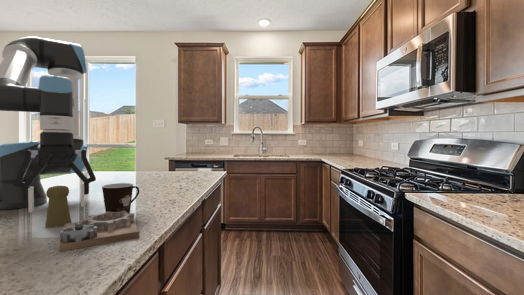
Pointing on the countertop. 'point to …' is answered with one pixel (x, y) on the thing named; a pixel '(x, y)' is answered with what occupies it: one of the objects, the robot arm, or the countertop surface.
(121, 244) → the countertop surface
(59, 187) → the cork
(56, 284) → the countertop surface
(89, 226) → the gear
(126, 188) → the coffee mug
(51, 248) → the countertop surface
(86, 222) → the gear board
